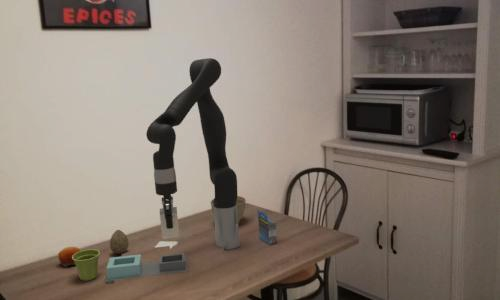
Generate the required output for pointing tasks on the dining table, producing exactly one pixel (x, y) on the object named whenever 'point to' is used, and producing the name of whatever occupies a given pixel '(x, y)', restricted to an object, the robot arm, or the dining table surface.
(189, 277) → the dining table surface
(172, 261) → the panel
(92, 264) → the plant pot
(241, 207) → the planter bowl
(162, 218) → the plug
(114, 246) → the decorative egg
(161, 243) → the external hard drive
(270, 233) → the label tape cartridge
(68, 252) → the fruit
